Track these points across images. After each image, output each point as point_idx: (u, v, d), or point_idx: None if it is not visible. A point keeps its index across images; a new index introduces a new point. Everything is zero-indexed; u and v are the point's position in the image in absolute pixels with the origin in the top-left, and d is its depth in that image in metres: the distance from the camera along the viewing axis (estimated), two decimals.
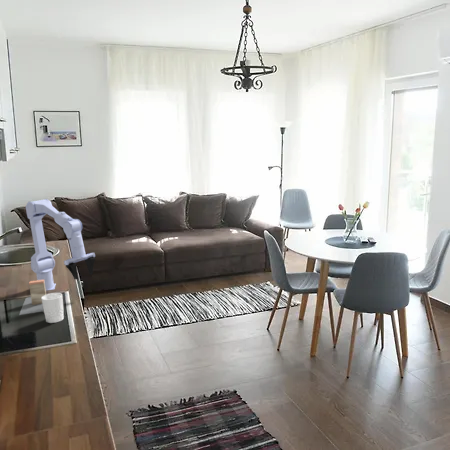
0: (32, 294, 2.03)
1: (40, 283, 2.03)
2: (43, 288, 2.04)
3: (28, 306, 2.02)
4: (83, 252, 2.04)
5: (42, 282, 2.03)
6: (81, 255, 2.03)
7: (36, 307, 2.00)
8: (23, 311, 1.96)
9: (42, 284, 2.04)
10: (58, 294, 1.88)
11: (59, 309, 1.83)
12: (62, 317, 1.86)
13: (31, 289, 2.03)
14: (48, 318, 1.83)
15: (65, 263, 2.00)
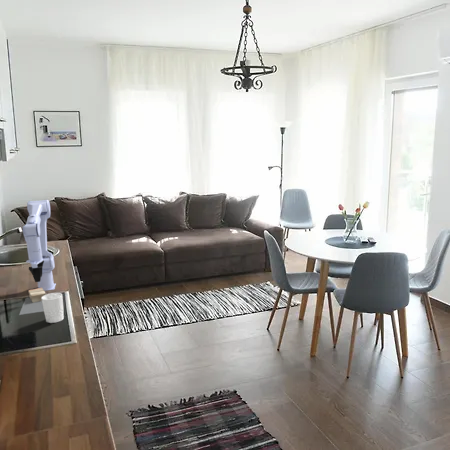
0: (31, 293, 2.10)
1: (39, 288, 2.16)
2: (42, 289, 2.15)
3: (28, 306, 2.02)
4: None
5: (41, 288, 2.17)
6: None
7: (36, 307, 2.00)
8: (23, 311, 1.96)
9: (41, 288, 2.16)
10: (58, 294, 1.88)
11: (59, 309, 1.83)
12: (62, 317, 1.86)
13: (30, 291, 2.12)
14: (48, 318, 1.83)
15: None
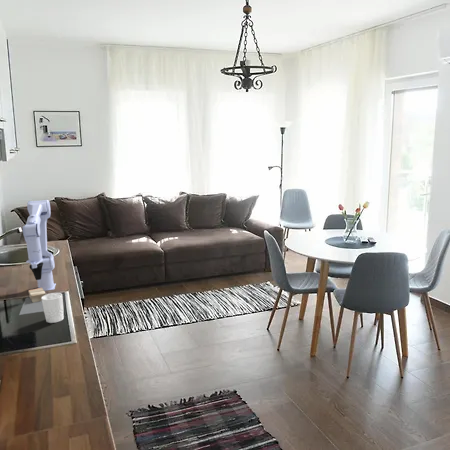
0: (31, 293, 2.10)
1: (39, 288, 2.16)
2: (42, 289, 2.15)
3: (28, 306, 2.02)
4: (28, 257, 2.07)
5: (41, 288, 2.17)
6: None
7: (36, 307, 2.00)
8: (23, 311, 1.96)
9: (41, 288, 2.16)
10: (58, 294, 1.88)
11: (59, 309, 1.83)
12: (62, 317, 1.86)
13: (30, 291, 2.12)
14: (48, 318, 1.83)
15: None
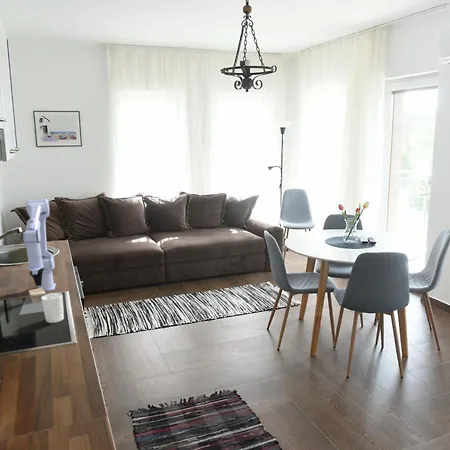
0: (31, 293, 2.10)
1: (39, 288, 2.16)
2: (42, 289, 2.15)
3: (28, 306, 2.02)
4: (29, 263, 2.06)
5: (41, 288, 2.17)
6: None
7: (36, 307, 2.00)
8: (23, 311, 1.96)
9: (41, 288, 2.16)
10: (58, 294, 1.88)
11: (59, 309, 1.83)
12: (62, 317, 1.86)
13: (30, 291, 2.12)
14: (48, 318, 1.83)
15: None
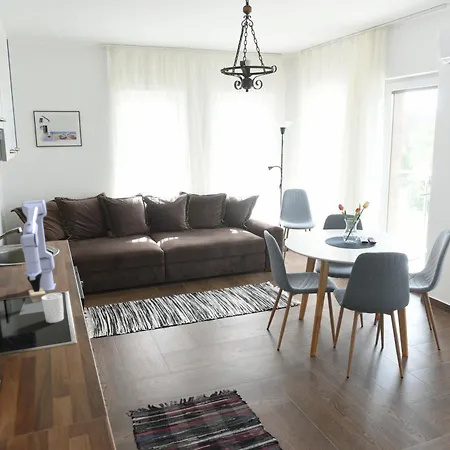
0: (31, 293, 2.10)
1: None
2: (42, 289, 2.15)
3: (28, 306, 2.02)
4: (26, 268, 1.98)
5: (41, 288, 2.17)
6: None
7: (36, 307, 2.00)
8: (23, 311, 1.96)
9: (41, 288, 2.16)
10: (58, 294, 1.88)
11: (59, 309, 1.83)
12: (62, 317, 1.86)
13: (30, 291, 2.12)
14: (48, 318, 1.83)
15: None
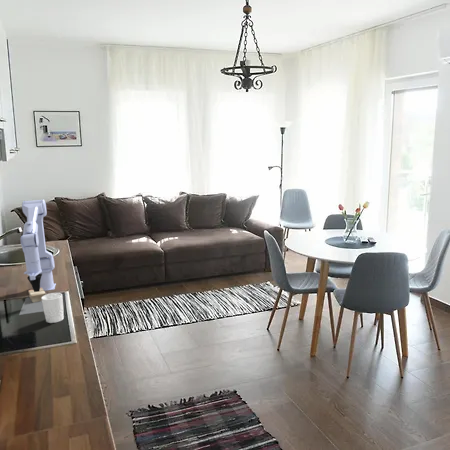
0: (31, 293, 2.10)
1: None
2: (42, 289, 2.15)
3: (28, 306, 2.02)
4: (26, 268, 1.98)
5: (41, 288, 2.17)
6: None
7: (36, 307, 2.00)
8: (23, 311, 1.96)
9: (41, 288, 2.16)
10: (58, 294, 1.88)
11: (59, 309, 1.83)
12: (62, 317, 1.86)
13: (30, 291, 2.12)
14: (48, 318, 1.83)
15: None
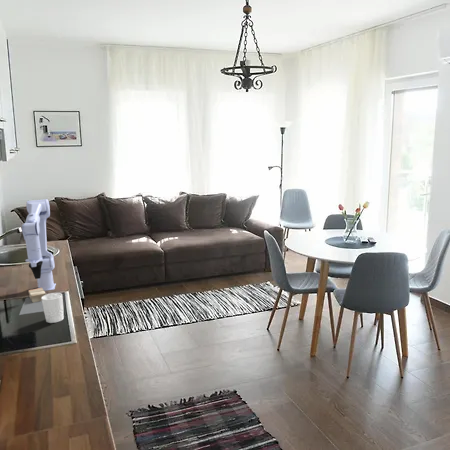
0: (31, 293, 2.10)
1: (39, 288, 2.16)
2: (42, 289, 2.15)
3: (28, 306, 2.02)
4: None
5: (41, 288, 2.17)
6: None
7: (36, 307, 2.00)
8: (23, 311, 1.96)
9: (41, 288, 2.16)
10: (58, 294, 1.88)
11: (59, 309, 1.83)
12: (62, 317, 1.86)
13: (30, 291, 2.12)
14: (48, 318, 1.83)
15: None
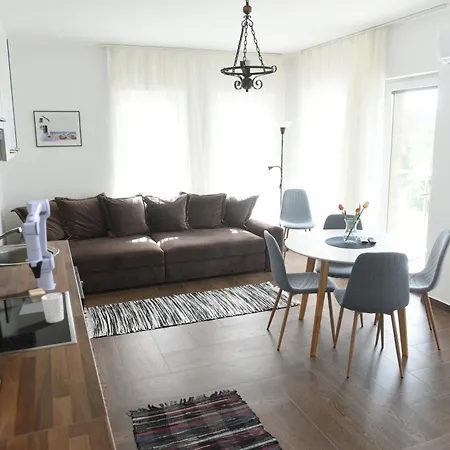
0: (31, 293, 2.10)
1: (39, 288, 2.16)
2: (42, 289, 2.15)
3: (28, 306, 2.02)
4: None
5: (41, 288, 2.17)
6: None
7: (36, 307, 2.00)
8: (23, 311, 1.96)
9: (41, 288, 2.16)
10: (58, 294, 1.88)
11: (59, 309, 1.83)
12: (62, 317, 1.86)
13: (30, 291, 2.12)
14: (48, 318, 1.83)
15: None
